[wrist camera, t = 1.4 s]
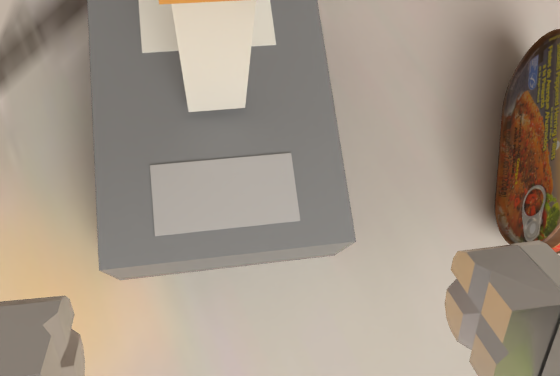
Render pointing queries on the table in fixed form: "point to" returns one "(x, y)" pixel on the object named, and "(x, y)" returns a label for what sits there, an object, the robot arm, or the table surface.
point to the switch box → (213, 147)
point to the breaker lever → (214, 51)
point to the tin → (531, 148)
